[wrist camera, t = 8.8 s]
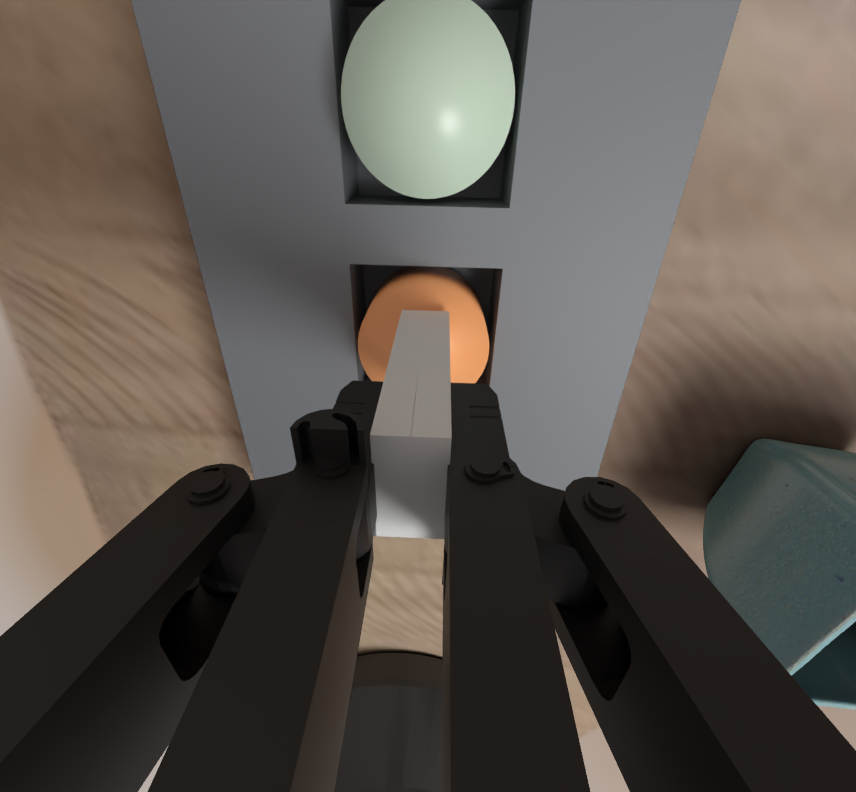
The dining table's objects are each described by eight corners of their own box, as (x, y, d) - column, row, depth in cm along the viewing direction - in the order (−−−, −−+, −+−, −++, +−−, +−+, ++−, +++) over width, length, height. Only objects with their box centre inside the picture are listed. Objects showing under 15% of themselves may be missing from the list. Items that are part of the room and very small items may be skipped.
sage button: (495, 191, 14) (504, 200, 12) (363, 187, 14) (347, 196, 12) (511, 16, 12) (526, -13, 10) (354, 13, 12) (332, -16, 10)
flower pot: (911, 424, 20) (1194, 597, 13) (798, 545, 25) (956, 725, 17) (739, 396, 20) (925, 557, 12) (656, 524, 24) (753, 700, 17)
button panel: (559, 492, 23) (576, 544, 20) (290, 481, 24) (267, 531, 21) (689, -33, 12) (767, -87, 9) (185, -41, 13) (106, -96, 10)
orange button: (478, 373, 17) (483, 407, 15) (372, 369, 18) (361, 402, 15) (488, 265, 15) (495, 287, 13) (366, 261, 15) (353, 282, 13)
